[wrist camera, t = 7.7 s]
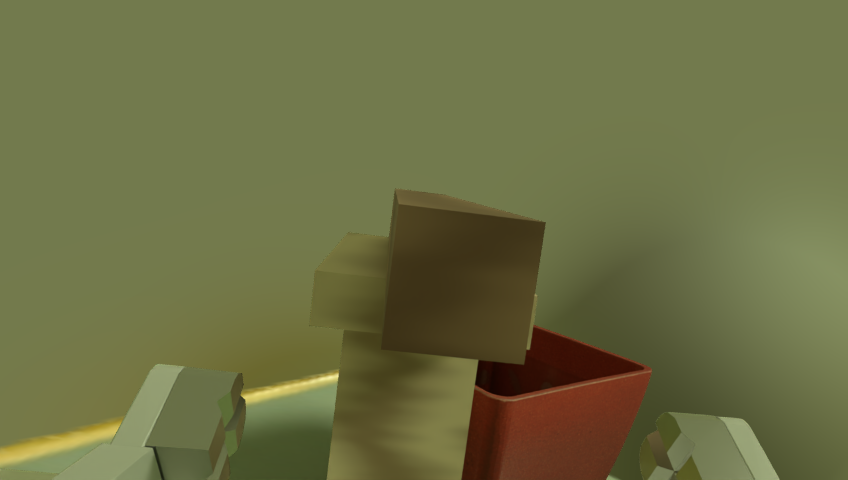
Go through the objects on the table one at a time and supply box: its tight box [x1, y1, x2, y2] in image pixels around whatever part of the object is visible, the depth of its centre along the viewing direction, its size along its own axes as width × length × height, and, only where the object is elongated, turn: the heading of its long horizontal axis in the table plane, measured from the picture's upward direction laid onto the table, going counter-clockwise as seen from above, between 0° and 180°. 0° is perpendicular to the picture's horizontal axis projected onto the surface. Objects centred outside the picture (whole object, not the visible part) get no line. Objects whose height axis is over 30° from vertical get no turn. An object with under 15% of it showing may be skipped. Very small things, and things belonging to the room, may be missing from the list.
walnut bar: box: [381, 189, 545, 365], centre depth 22 cm, size 3×22×3 cm, turn 3°
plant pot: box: [461, 325, 652, 480], centre depth 47 cm, size 19×19×17 cm
